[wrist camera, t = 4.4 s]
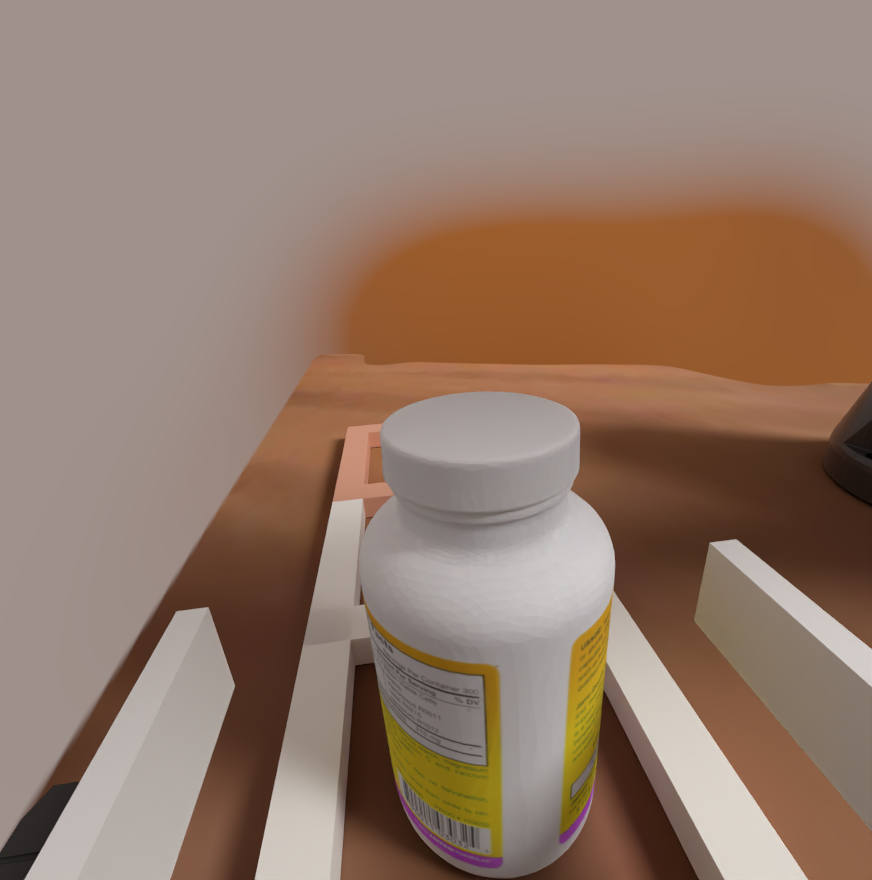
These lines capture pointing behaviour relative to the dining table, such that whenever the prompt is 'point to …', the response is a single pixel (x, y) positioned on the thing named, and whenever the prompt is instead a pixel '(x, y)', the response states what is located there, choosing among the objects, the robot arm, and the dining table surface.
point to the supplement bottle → (489, 627)
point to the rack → (625, 683)
